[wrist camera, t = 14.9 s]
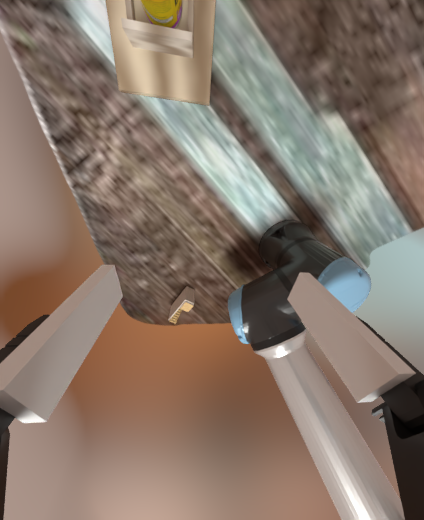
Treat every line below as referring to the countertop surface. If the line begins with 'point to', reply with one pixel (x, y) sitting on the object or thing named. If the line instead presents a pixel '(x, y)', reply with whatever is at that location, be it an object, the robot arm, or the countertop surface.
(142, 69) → the bottle dock
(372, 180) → the countertop surface
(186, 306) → the model
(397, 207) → the countertop surface
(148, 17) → the supplement bottle
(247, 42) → the countertop surface
